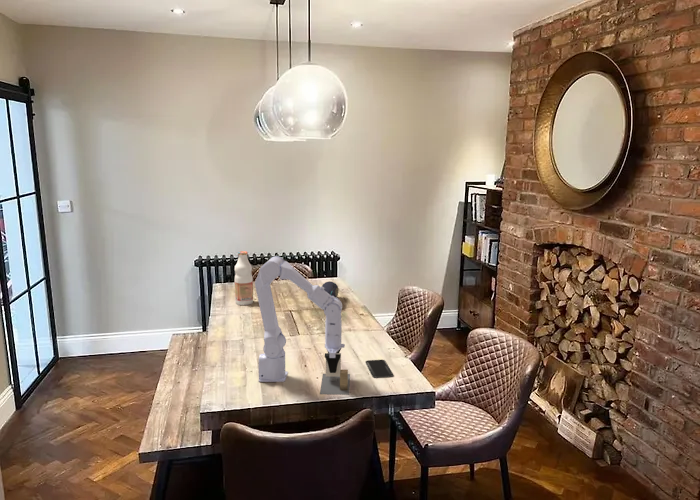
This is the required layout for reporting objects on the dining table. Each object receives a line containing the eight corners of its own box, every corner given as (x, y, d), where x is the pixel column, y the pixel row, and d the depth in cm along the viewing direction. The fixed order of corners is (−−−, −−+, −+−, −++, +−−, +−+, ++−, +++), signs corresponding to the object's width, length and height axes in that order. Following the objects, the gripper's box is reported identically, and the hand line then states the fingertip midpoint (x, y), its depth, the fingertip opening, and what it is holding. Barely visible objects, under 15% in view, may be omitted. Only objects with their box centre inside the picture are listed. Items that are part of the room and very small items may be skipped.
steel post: (329, 380, 179) (329, 364, 178) (329, 377, 182) (329, 361, 180) (336, 380, 179) (336, 364, 178) (336, 377, 182) (337, 361, 180)
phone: (373, 377, 182) (364, 360, 196) (373, 380, 182) (364, 363, 196) (394, 376, 183) (384, 359, 197) (394, 378, 183) (384, 362, 198)
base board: (319, 395, 169) (319, 394, 169) (322, 374, 185) (322, 373, 185) (349, 395, 169) (349, 394, 169) (349, 375, 185) (349, 374, 185)
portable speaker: (335, 310, 260) (335, 292, 258) (316, 310, 260) (316, 291, 259) (339, 297, 285) (339, 279, 283) (321, 296, 285) (321, 279, 283)
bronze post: (339, 390, 172) (340, 372, 171) (340, 386, 175) (340, 369, 174) (347, 390, 172) (347, 372, 171) (347, 386, 175) (347, 369, 174)
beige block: (325, 376, 177) (325, 358, 176) (326, 370, 183) (326, 352, 181) (340, 376, 177) (340, 359, 176) (340, 370, 183) (340, 353, 181)
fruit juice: (231, 303, 269) (229, 252, 264) (243, 299, 277) (242, 249, 272) (244, 306, 264) (243, 254, 259) (256, 302, 272) (255, 251, 267)
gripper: (344, 340, 170) (343, 378, 173) (345, 326, 184) (344, 360, 187) (323, 340, 170) (323, 377, 173) (325, 325, 184) (325, 360, 187)
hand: (333, 369), depth 180 cm, fingers closed on beige block, 5 cm apart
